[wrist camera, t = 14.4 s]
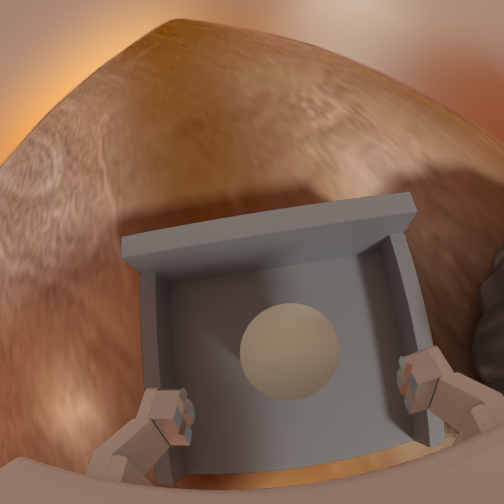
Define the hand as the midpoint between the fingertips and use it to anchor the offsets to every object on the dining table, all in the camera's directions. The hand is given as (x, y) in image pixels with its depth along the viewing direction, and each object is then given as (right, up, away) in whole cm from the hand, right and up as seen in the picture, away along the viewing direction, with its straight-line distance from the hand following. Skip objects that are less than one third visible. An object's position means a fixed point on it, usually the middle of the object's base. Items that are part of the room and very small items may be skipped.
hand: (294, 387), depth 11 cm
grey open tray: (+1, -4, +12) cm, 13 cm away
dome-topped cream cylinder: (+1, -3, +10) cm, 11 cm away
